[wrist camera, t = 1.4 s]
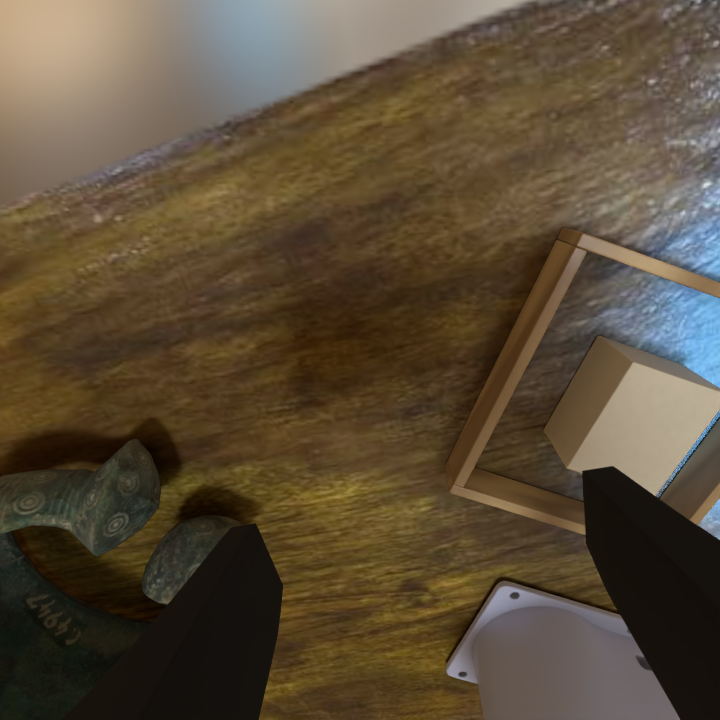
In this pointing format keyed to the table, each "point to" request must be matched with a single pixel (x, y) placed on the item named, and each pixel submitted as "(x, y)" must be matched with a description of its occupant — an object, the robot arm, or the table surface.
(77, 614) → the dark green rounded piece
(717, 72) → the table surface
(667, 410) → the block
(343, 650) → the table surface
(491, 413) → the wooden frame
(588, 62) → the table surface
